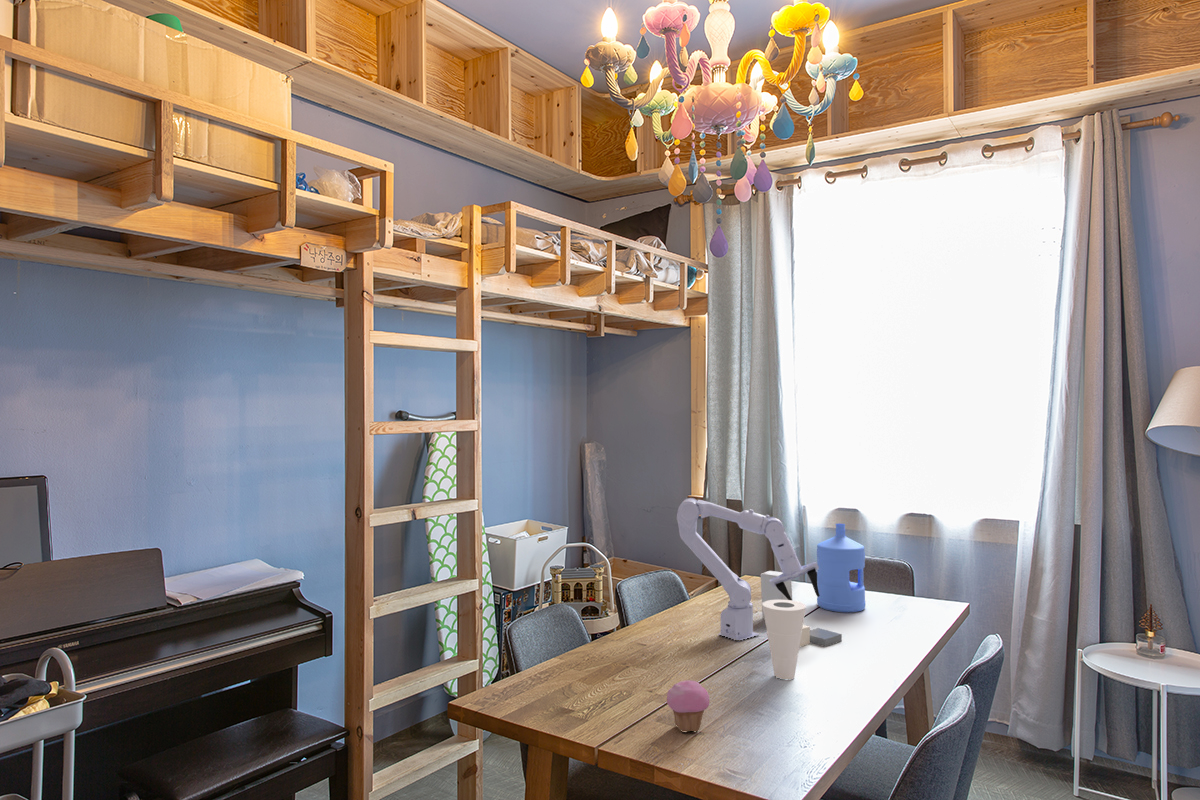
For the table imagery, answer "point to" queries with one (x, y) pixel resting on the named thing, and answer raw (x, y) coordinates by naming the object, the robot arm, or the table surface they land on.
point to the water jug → (840, 573)
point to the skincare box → (772, 588)
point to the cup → (784, 634)
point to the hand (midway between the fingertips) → (805, 600)
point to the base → (824, 637)
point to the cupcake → (688, 704)
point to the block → (805, 636)
